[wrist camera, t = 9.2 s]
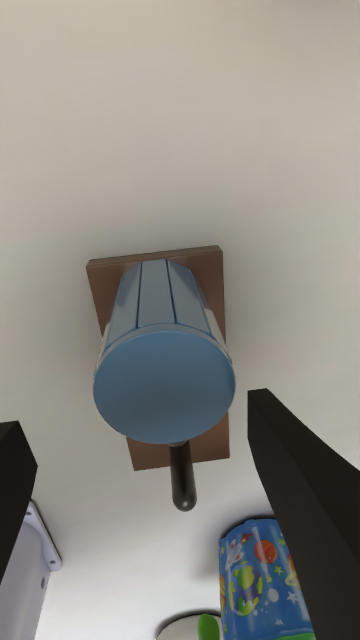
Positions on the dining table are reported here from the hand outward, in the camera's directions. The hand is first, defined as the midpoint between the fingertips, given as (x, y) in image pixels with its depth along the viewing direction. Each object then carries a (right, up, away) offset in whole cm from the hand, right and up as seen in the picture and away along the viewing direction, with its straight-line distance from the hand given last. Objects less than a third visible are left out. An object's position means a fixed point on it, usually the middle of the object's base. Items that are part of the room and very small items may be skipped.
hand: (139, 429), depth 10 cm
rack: (+1, 0, +11) cm, 11 cm away
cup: (0, +4, +7) cm, 8 cm away
